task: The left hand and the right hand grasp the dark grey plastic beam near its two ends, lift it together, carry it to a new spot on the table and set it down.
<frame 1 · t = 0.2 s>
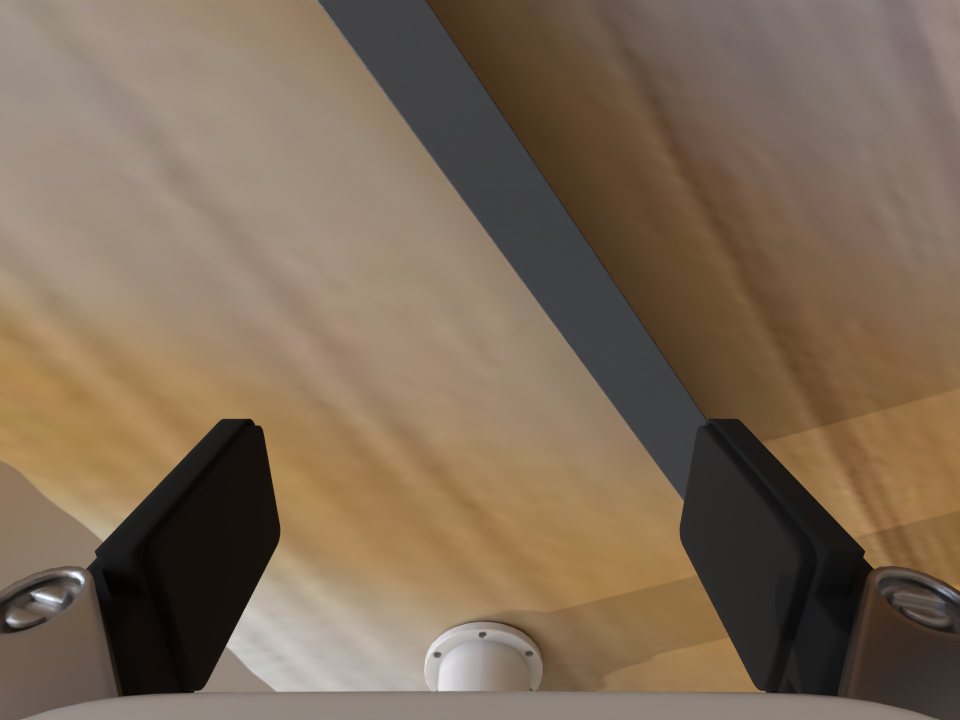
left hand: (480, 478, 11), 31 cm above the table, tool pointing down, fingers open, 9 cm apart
beam: (436, 91, 36), on the table
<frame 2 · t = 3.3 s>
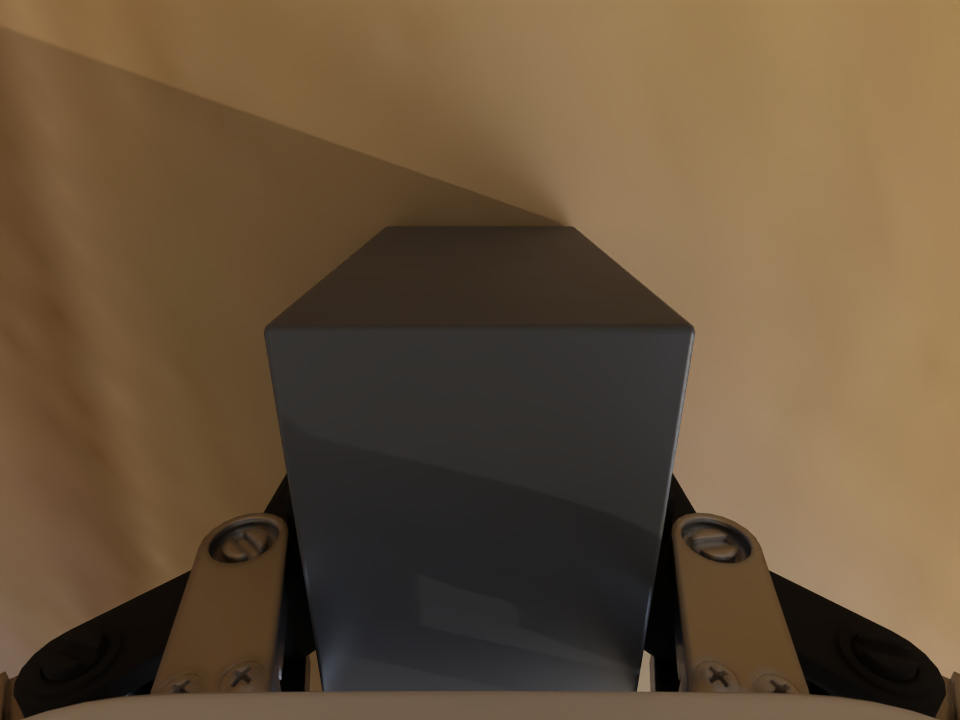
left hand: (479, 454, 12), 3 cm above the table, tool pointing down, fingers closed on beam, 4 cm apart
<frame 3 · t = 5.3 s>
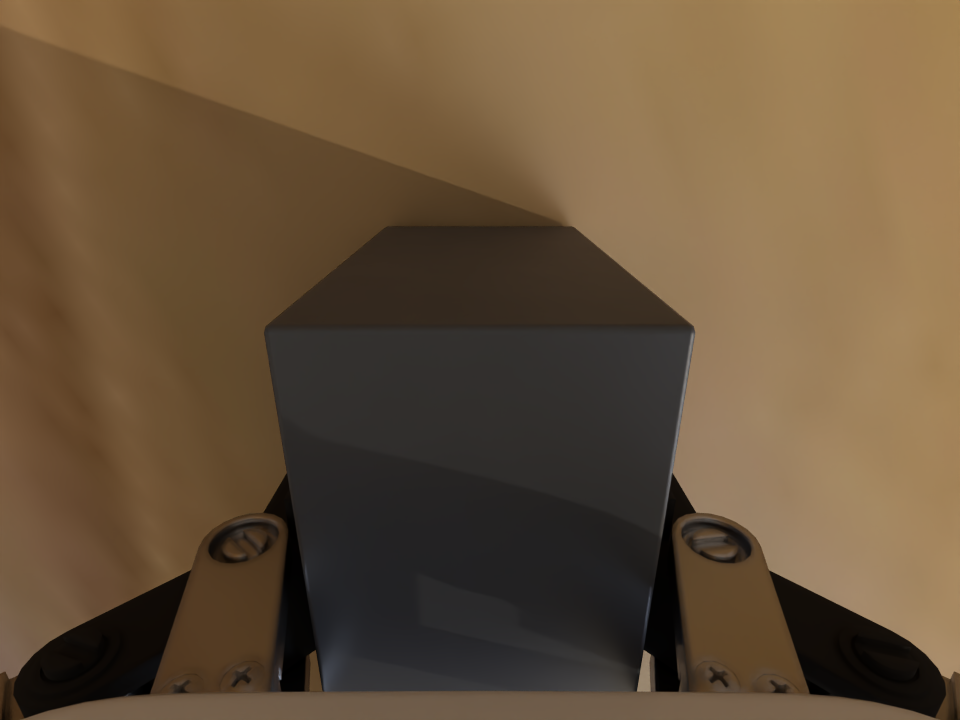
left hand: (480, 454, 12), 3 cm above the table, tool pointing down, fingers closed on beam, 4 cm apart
when the left hand's fingers open (3 cm above the table, at t = 9.4 s): beam stays where it is, on the table.
when the right hand's fingers open (4 cm above the table, at t = 9.4 s): beam stays where it is, on the table.
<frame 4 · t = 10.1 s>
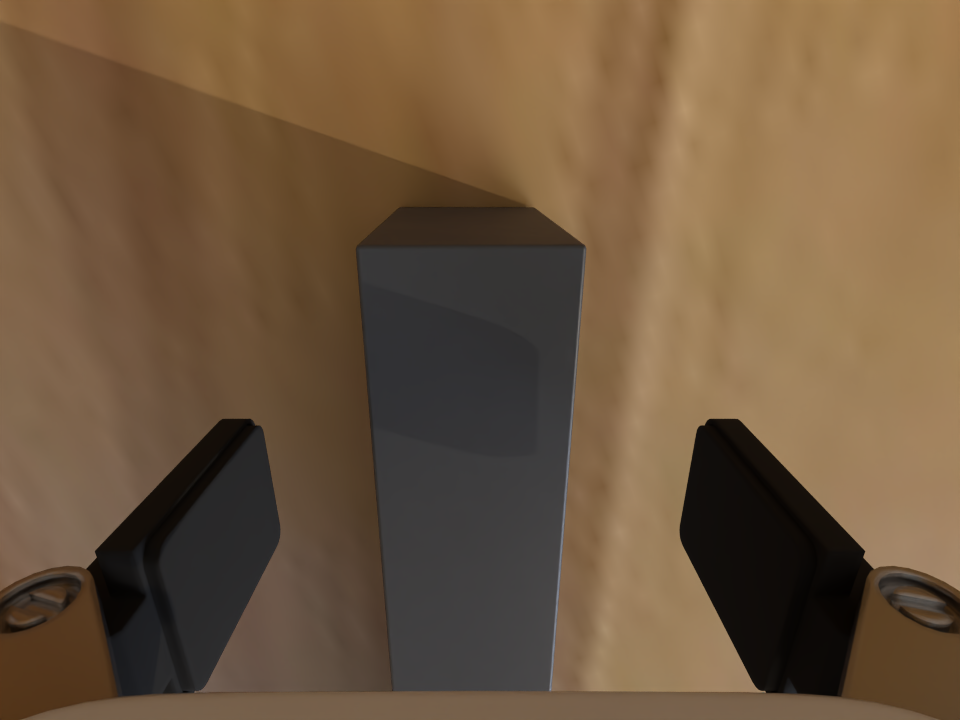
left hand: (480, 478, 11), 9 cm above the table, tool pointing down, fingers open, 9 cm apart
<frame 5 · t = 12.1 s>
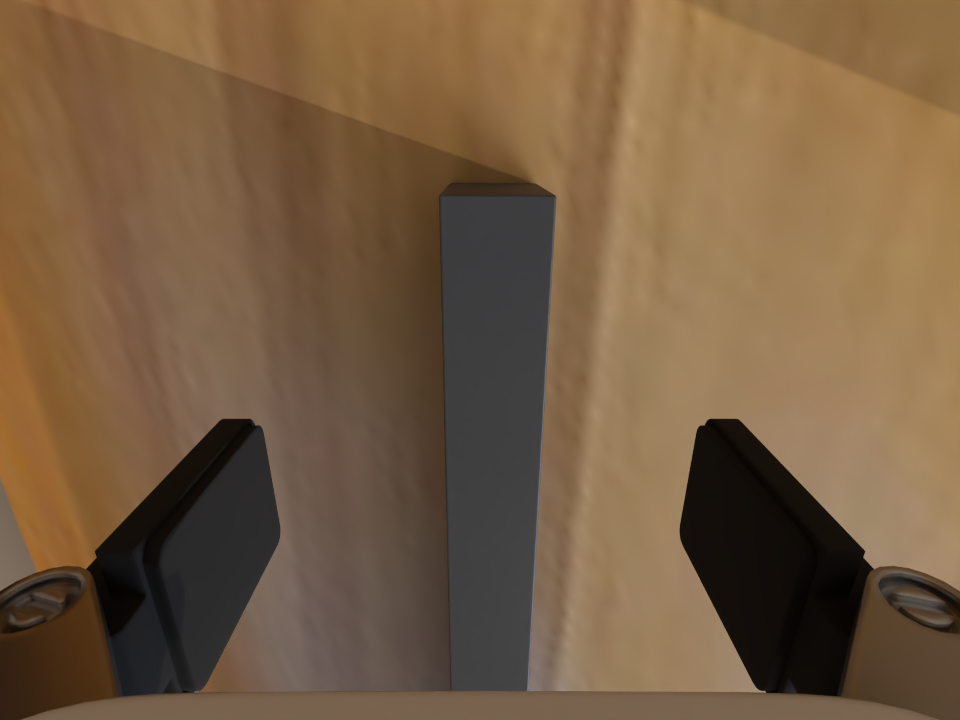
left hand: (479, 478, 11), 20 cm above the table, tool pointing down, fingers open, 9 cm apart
beam: (486, 668, 41), on the table
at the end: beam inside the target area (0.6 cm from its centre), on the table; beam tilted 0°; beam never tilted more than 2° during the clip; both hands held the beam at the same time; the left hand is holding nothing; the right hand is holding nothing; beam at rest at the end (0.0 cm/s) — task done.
